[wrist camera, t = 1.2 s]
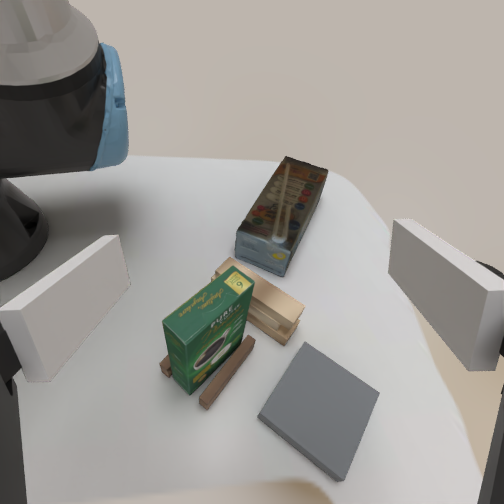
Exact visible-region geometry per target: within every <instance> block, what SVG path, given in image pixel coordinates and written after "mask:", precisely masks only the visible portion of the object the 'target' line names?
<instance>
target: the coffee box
mask: <svg viewBox="0 0 504 504" xmlns="http://www.w3.org/2000/svg"><path fill="white" fill-rule="evenodd" d="M254 285H255V281H254V280H253V279H251V278H250V277H248V276H247V275H246V274H244V273H243V272H241V271H240V270H239V269H237V268H236V267H235V266H234V265H232V266H231V267H230V268H228V269H227V270H226V271H224V272H223V273H222V274H221V275H219V276H218V277H217V278H216V279H214V280H213V281H212V282H211V283H209V284H208V285H207V286H205V287H204V288H203V289H201V290H200V291H199V292H198V293H197V294H195V295H194V296H193V297H191V298H190V299H189V300H188V301H186V302H185V303H184V304H182V305H181V306H180V307H179V308H177V309H176V310H175V311H174V312H172V313H171V314H170V315H169V316H167V317H166V318H165V319H164V320H162V324H163V328H164V334H165V339H166V344H167V350H168V355H169V360H170V365H171V369H172V375H173V378H174V380H175V381H176V382H177V383H178V384H179V385H180V386H181V387H182V389H183V390H184V391H185V392H186V393H187V394H189V395H191V394H192V393H193V392H194V391H195V390H196V389H197V388H198V387H199V386H200V385H201V384H202V383H203V382H204V381H205V380H206V379H207V378H208V377H209V376H210V375H211V374H212V373H213V372H214V371H215V370H216V369H217V368H218V367H219V366H220V365H221V364H222V363H223V362H224V361H225V360H226V359H227V358H228V357H229V356H230V355H231V354H232V353H233V352H234V351H235V350H236V349H237V348H238V347H239V346H240V344H241V341H242V337H243V333H244V328H245V324H246V319H247V315H248V310H249V306H250V302H251V298H252V293H253V289H254Z"/></svg>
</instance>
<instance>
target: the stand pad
mask: <svg viewBox="0 0 504 504" xmlns="http://www.w3.org/2000/svg"><path fill="white" fill-rule="evenodd" d="M378 396H379V392H378V391H376V390H375V389H373V388H372V387H370V386H369V385H368V384H366V383H365V382H363V381H362V380H360V379H359V378H357V377H356V376H354V375H353V374H352V373H350V372H349V371H347V370H346V369H344V368H343V367H341V366H340V365H339V364H337V363H336V362H334V361H333V360H331V359H330V358H328V357H327V356H325V355H324V354H323V353H321V352H320V351H318V350H317V349H315V348H314V347H312V346H311V345H309V344H308V343H307V342H304V344H303V345H302V347H301V348H300V350H299V352H298V353H297V355H296V356H295V358H294V359H293V361H292V363H291V364H290V366H289V367H288V369H287V371H286V372H285V374H284V375H283V377H282V378H281V380H280V382H279V383H278V385H277V386H276V388H275V389H274V391H273V393H272V394H271V396H270V397H269V399H268V401H267V402H266V404H265V405H264V407H263V408H262V410H261V412H260V413H259V415H258V418H259V419H260V420H261V421H263V422H264V423H265V424H266V425H268V426H269V427H270V428H271V429H272V430H274V431H275V432H276V433H277V434H279V435H280V436H281V437H282V438H284V439H285V440H286V441H287V442H289V443H290V444H291V445H292V446H293V447H295V448H296V449H297V450H298V451H300V452H301V453H302V454H303V455H305V456H306V457H307V458H308V459H309V460H311V461H312V462H313V463H314V464H316V465H317V466H318V467H319V468H321V469H322V470H323V471H324V472H325V473H327V474H328V475H329V476H330V477H332V478H333V479H334V480H335V481H337V482H338V481H344V480H345V478H346V475H347V473H348V470H349V468H350V465H351V463H352V460H353V458H354V455H355V453H356V450H357V448H358V445H359V443H360V440H361V438H362V436H363V433H364V431H365V428H366V426H367V423H368V421H369V418H370V416H371V413H372V411H373V408H374V406H375V403H376V401H377V398H378Z"/></svg>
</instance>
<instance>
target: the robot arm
mask: <svg viewBox="0 0 504 504" xmlns="http://www.w3.org/2000/svg"><path fill="white" fill-rule="evenodd" d="M128 143H129V142H128V121H127V111H126V106H125V95H124V83H123V76H122V70H121V65H120V60H119V56H118V53H117V51H116V49H115V48H114V47H112V46H109V45H106V44H103V43H100V44H99V41H98V36H97V33H96V30H95V28H94V26H93V24H92V23H91V21H90V20H89V19H88V18H87V17H86V16H85V15H84V14H82V13H81V12H80V11H78V10H77V9H76V8H74V7H73V6H71V5H70V4H69V1H68V0H0V280H2V279H4V278H7V277H9V276H10V275H12V274H14V273H16V272H17V271H19V270H20V269H22V268H23V267H24V266H26V265H27V264H28V263H29V262H31V261H32V260H33V259H34V258H35V257H36V256H37V254H38V253H39V252H40V251H41V249H42V248H43V246H44V244H45V242H46V240H47V236H48V223H47V220H46V218H45V217H44V215H43V213H42V211H41V210H40V208H39V207H38V205H37V204H36V203H35V202H34V201H33V200H32V199H31V198H29V197H28V196H27V195H26V194H24V193H23V192H22V191H21V190H19V189H18V188H17V187H16V186H14V185H13V184H12V183H11V182H9V181H8V180H7V179H6V178H14V177H25V176H36V175H47V174H58V173H69V172H80V171H94V170H95V169H98V168H104V167H110V166H116V165H119V164H121V163H122V162H123V161H124V160H125V159H126V157H127V154H128V146H129V145H128ZM388 273H389V275H390V276H391V277H392V278H393V280H394V281H395V282H396V283H397V284H398V286H399V287H400V288H401V289H402V291H403V292H404V293H405V294H406V295H407V297H408V298H409V299H410V300H411V302H412V303H413V304H414V305H415V306H416V308H417V309H418V310H419V311H420V313H422V315H423V316H424V318H425V319H426V320H427V321H428V322H429V324H430V325H431V326H432V327H433V329H434V330H435V331H436V332H437V333H438V334H439V336H440V337H441V338H442V340H443V341H444V342H445V343H446V345H447V346H448V347H449V348H450V349H451V351H452V352H453V353H454V354H455V355H456V357H457V358H458V359H459V360H460V361H461V363H462V364H463V365H464V367H465V368H466V369H467V370H468V371H495V369H496V366H497V362H498V359H499V356H500V354H501V355H502V356H503V357H504V275H503V273H502V272H500V271H498V270H497V269H495V268H493V267H492V266H490V265H487V264H484V263H482V262H479V261H474V260H473V259H471V258H470V257H468V256H467V255H465V254H464V253H462V252H461V251H459V250H457V249H456V248H455V247H453V246H452V245H450V244H449V243H447V242H446V241H444V240H443V239H441V238H440V237H438V236H437V235H435V234H433V233H432V232H431V231H429V230H428V229H426V228H424V227H423V226H421V225H420V224H418V223H417V222H415V221H414V220H412V219H410V218H409V219H394V222H393V231H392V240H391V250H390V259H389V269H388ZM130 285H131V282H130V278H129V274H128V270H127V266H126V262H125V258H124V254H123V250H122V246H121V242H120V238H119V235H104V236H102V237H101V238H99V239H98V240H96V241H95V242H94V243H92V244H91V245H89V246H88V247H86V248H85V249H84V250H82V251H81V252H79V253H78V254H76V255H75V256H74V257H72V258H71V259H69V260H68V261H66V262H65V263H63V264H62V265H61V266H59V267H58V268H56V269H55V270H53V271H52V272H51V273H49V274H48V275H46V276H45V277H43V278H42V279H41V280H39V281H38V282H36V283H35V284H33V285H32V286H31V287H29V288H28V289H26V290H25V291H23V292H22V293H21V294H19V295H18V296H16V297H15V298H13V299H12V300H10V301H9V302H8V303H6V304H5V305H3V306H2V307H0V504H27V497H26V485H25V474H24V463H23V451H22V440H21V429H20V417H19V406H18V395H17V385H16V383H15V381H14V379H13V376H14V375H15V374H16V373H17V372H18V371H19V370H20V369H21V368H22V371H23V373H24V375H25V377H26V379H27V382H50V381H51V380H52V379H53V378H54V376H55V375H56V374H57V373H58V372H59V370H60V369H61V368H62V367H63V366H64V364H65V363H66V362H67V361H68V360H69V358H70V357H71V356H72V355H73V354H74V352H75V351H76V350H77V349H78V348H79V346H80V345H81V344H82V343H83V342H84V340H85V339H86V338H87V337H88V336H89V334H90V333H91V332H92V331H93V330H94V328H95V327H96V326H97V325H98V324H99V322H100V321H101V320H102V319H103V317H104V316H105V315H106V314H107V313H108V311H109V310H110V309H111V308H112V307H113V305H114V304H115V303H116V302H117V301H118V299H119V298H120V297H121V296H122V295H123V293H124V292H125V291H126V290H127V289H128V287H129V286H130ZM501 394H502V398H501V403H500V407H499V411H498V415H497V420H496V424H495V429H494V433H493V438H492V442H491V446H490V451H489V455H488V459H487V464H486V468H485V473H484V477H483V481H482V486H481V490H480V495H479V499H478V503H477V504H504V385H503V388H502V392H501Z"/></svg>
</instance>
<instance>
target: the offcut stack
mask: <svg viewBox="0 0 504 504" xmlns="http://www.w3.org/2000/svg"><path fill="white" fill-rule="evenodd" d="M232 265H234V266H235V267H236V268H237V269H239V270H240V271H241V272H243V273H244V274H246V275H247V276H248V277H250V278H251V279H253V280H254V281H255V285H254V289H253V293H252V298H251V302H250V306H249V310H248V315H247V319H246V320H248V321H249V322H251V323H252V324H254V325H255V326H256V327H258V328H259V329H261V330H262V331H263V332H265V333H266V334H268V335H269V336H270V337H272V338H273V339H275V340H276V341H278V342H279V343H280V344H282V345H283V346H284V345H285V344H286V342H287V341H288V340H289V338H290V337H291V335H292V334H293V332H294V331H295V329H296V328H297V326H298V324H299V322H300V320H299V319H298V318H299V317H300V315H301V314H302V312H303V310H304V308H305V305H303V304H302V303H300V302H299V301H297V300H296V299H294V298H293V297H291V296H289V295H288V294H286V293H285V292H283V291H282V290H280V289H279V288H277V287H276V286H274V285H272V284H271V283H269V282H268V281H266V280H265V279H263V278H262V277H260V276H259V275H257V274H256V273H254V272H252V271H251V270H249V269H248V268H246V267H245V266H243V265H242V264H240V263H239V262H237V261H236V260H234V259H232V258H231V257H229V258H228V259H227V260H226V261H225V262H224V263H223V264H222V265H221V266H220V267H219V268H218V269H217V270H216V271H215V274H214V275H213V276H212V277H211V282H212V281H213V280H214V279H216V278H217V277H218V276H219V275H221V274H222V273H223V272H224V271H226V270H227V269H228V268H230V267H231V266H232Z"/></svg>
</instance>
